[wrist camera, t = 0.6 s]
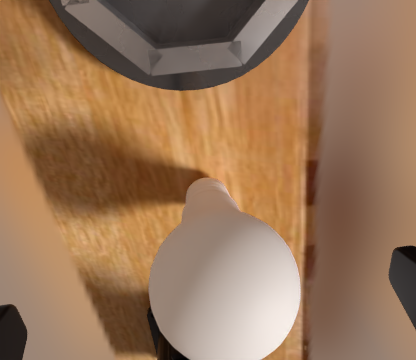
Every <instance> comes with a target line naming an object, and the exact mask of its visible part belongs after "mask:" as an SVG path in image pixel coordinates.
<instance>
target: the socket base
mask: <svg viewBox="0 0 416 360" xmlns="http://www.w3.org/2000/svg"><path fill="white" fill-rule="evenodd" d="M49 1H50V3H51V4H52V6H53V8H54V9H55V11H56V13H57V14H58V16H59V18H60V19H61V20H62V22H63V23H64V24H65V26H66V27H67V28H68V30H69V31H70V32H71V33H72V35H73V36H74V37H75V38H76V39H77V40H78V41H79V42H80V43H81V44H82V45H83V46H84V47H85V49H87V50H88V51H89V52H90V53H91V54H92V55H94V56H95V57H96V58H97V59H98V60H99V61H101V62H102V63H104V64H105V65H107V66H108V67H110V68H111V69H113V70H114V71H116V72H118V73H119V74H121V75H123V76H125V77H127V78H129V79H131V80H134V81H137V82H139V83H142V84H145V85H148V86H152V87H157V88H161V89H168V90H180V91H183V90H199V89H204V88H210V87H214V86H217V85H221V84H224V83H227V82H229V81H231V80H234V79H236V78H238V77H240V76H242V75H244V74H245V73H247V72H249V71H250V70H252V69H253V68H255V67H257V66H258V65H259V64H260V63H261V62H263V61H264V60H265V59H266V58H268V57H269V56H270V55H271V54H272V53H273V52H274V51H275V50H276V49H277V48H278V47H279V46H280V45H281V44H282V42H283V41H284V40H285V39H286V37H287V36H288V35H289V33H290V32H291V31H292V29H293V28H294V26H295V25H296V23H297V21H298V20H299V18H300V16H301V15H302V13H303V11H304V9H305V7H306V5H307V3H308V1H309V0H49Z"/></svg>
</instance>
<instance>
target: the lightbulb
mask: <svg viewBox="0 0 416 360" xmlns="http://www.w3.org/2000/svg"><path fill="white" fill-rule="evenodd" d="M149 298H150V304H151V309H152V312H153V315H154V317H155V320H156V322H157V325H158V327H159V329H160V331H161V333H162V334H163V335H164V336H165V338H166V339H167V340H168V341H169V343H170V344H171V345H172V346H173V347H174V348H175V349H176V350H178V351H179V352H180V353H181V354H183V355H184V356H185V357H187V358H188V359H190V360H261V359H262V358H264V357H265V356H267V355H268V354H270V353H271V352H273V351H274V350H275V349H276V348H277V347H278V346H279V345H280V344H281V343H282V342H283V340H284V339H285V338H286V336H287V335H288V333H289V331H290V330H291V328H292V326H293V323H294V321H295V318H296V315H297V312H298V309H299V304H300V278H299V272H298V267H297V265H296V262H295V259H294V257H293V255H292V253H291V251H290V249H289V247H288V246H287V244H286V243H285V241H284V240H283V239H282V238H281V237H280V236H279V234H278V233H277V232H276V231H275V230H274V229H272V228H271V227H270V226H269V225H268V224H266V223H265V222H263V221H261V220H259V219H257V218H255V217H253V216H251V215H249V214H247V213H244V212H241V211H240V210H239V208H238V205H237V203H236V202H235V201H234V199H233V198H232V197H230V195H229V193H228V191H227V189H226V187H225V185H224V184H223V183H222V182H221V181H219V180H217V179H215V178H209V177H208V178H201V179H198V180H196V181H195V182H193V183H192V184H191V185H190V186H189V188H188V190H187V193H186V205H185V207H184V209H183V212H182V221H181V223H180V224H179V225H178V226H177V227H176V228H175V229H174V230H173V231H172V232H171V233H170V234H169V235H168V237H167V238H166V239H165V240H164V242H163V243H162V245H161V246H160V247H159V250H158V252H157V254H156V257H155V259H154V262H153V264H152V267H151V271H150V277H149Z"/></svg>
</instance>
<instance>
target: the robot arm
mask: <svg viewBox="0 0 416 360" xmlns="http://www.w3.org/2000/svg"><path fill="white" fill-rule="evenodd" d="M389 280H390V283H391V285H392V287H393V289H394V291H395V292H396V294H397V296H398V298H399V300H400V302H401V303H402V305H403V307H404V309H405V311H406V313H407V314H408V316H409V318H410V320H411V322H412V324H413V326H414V327H415V329H416V247H415V246H403V247H397V248H395V249H394V250H393V253H392V258H391V263H390V268H389ZM147 317H148V321H149V325H150V329H151V333H152V337H153V341H154V345H155V349H156V353H157V360H190V359H188V358H187V357H185V356H184V355H183V354H181V353H180V352H179V351H178V350H176V349H175V348H174V347H173V346H172V345H171V344H170V343H169V341H168V340H167V339H166V338H165V336H164V335H163V334H162V333H161V331H160V329H159V327H158V325H157V322H156V320H155V317H154V315H153V312H152V309H151V307H150V308H149V309H148V314H147ZM26 341H27V329H26V326H25V324H24V322H23V320H22V318H21V316H20V314H19V312H18V310H17V308H16V307H15V306H14V305H12V304H8V305H1V306H0V360H22V358H23V353H24V349H25V345H26Z"/></svg>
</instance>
